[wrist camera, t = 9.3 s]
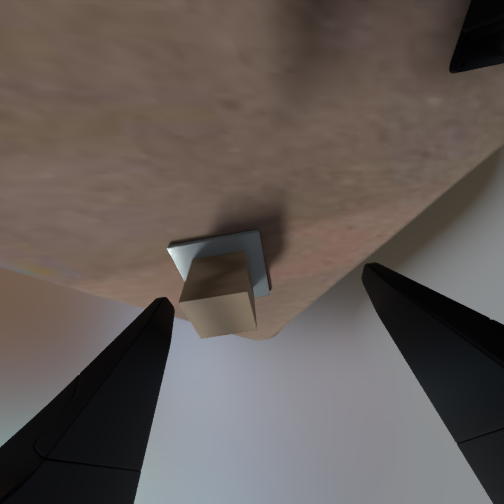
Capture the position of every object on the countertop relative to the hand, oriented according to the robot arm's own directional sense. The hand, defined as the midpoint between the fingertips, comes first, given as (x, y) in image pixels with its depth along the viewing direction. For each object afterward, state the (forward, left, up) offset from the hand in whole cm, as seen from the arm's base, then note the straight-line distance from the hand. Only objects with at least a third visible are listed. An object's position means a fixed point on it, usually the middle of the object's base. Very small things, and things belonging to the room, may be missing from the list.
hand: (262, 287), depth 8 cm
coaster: (+5, +9, -12) cm, 15 cm away
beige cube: (+5, +9, -11) cm, 14 cm away
